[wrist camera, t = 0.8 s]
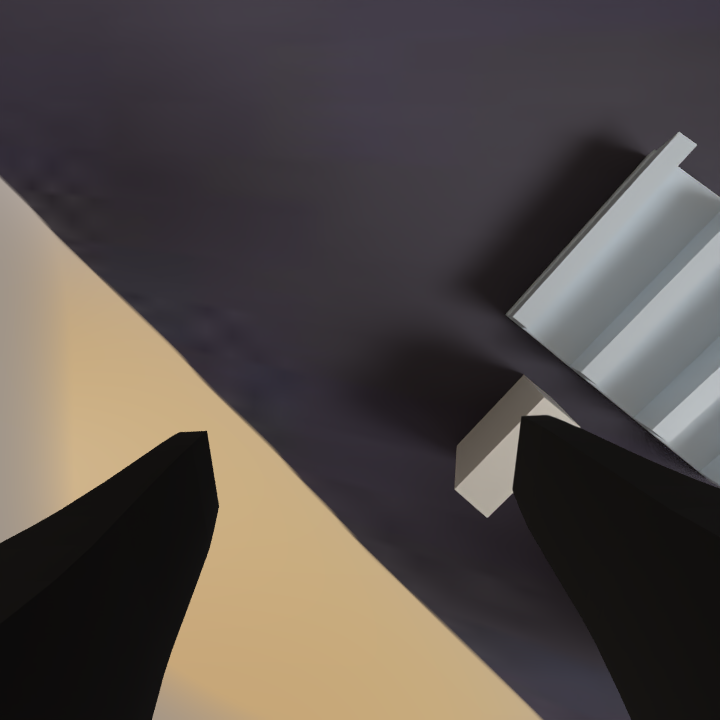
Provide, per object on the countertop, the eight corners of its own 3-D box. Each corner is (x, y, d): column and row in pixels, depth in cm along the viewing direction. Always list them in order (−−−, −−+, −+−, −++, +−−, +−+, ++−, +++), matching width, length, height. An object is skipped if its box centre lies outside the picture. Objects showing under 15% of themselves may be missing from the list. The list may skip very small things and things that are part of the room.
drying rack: (880, 328, 22) (954, 331, 19) (706, 478, 25) (744, 505, 22) (647, 155, 24) (677, 130, 20) (505, 314, 26) (511, 315, 23)
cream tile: (550, 396, 26) (580, 427, 20) (481, 466, 28) (487, 518, 21) (523, 374, 27) (544, 397, 20) (456, 445, 28) (454, 489, 21)
